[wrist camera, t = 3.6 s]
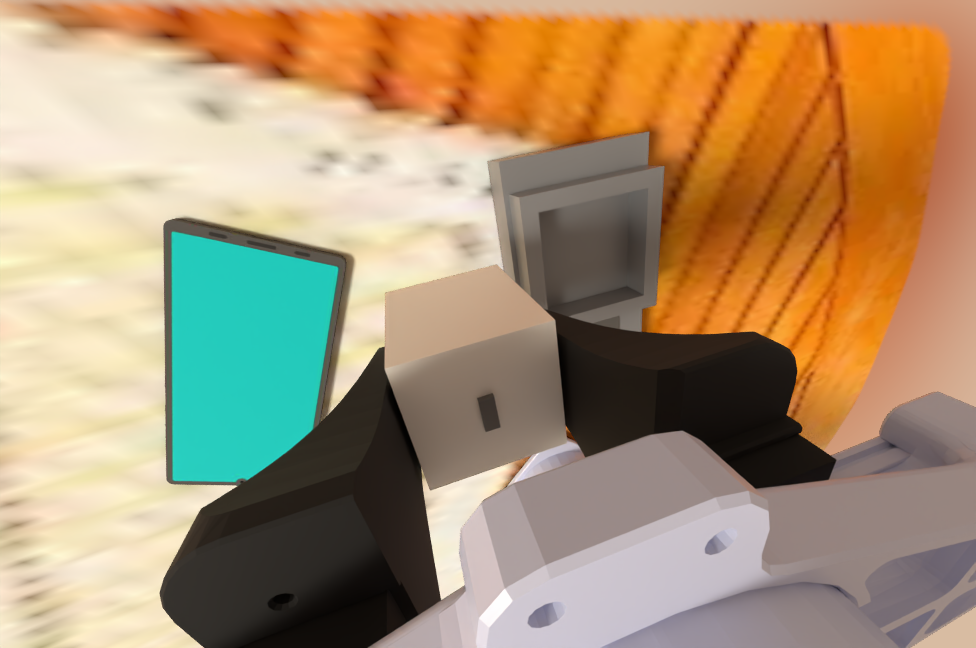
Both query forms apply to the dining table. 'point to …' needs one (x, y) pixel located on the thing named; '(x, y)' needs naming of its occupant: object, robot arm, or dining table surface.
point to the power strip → (583, 227)
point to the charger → (473, 373)
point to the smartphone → (242, 349)
